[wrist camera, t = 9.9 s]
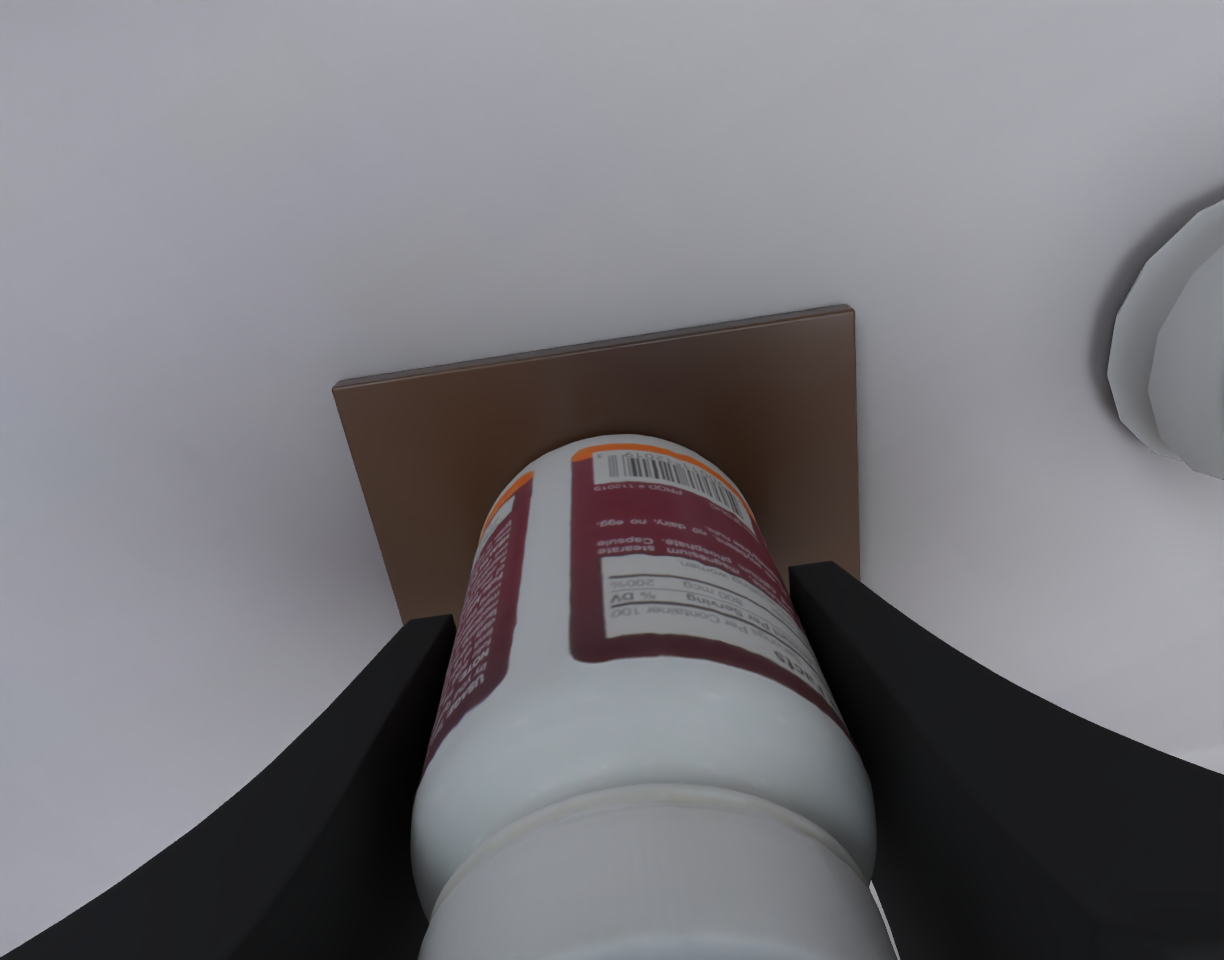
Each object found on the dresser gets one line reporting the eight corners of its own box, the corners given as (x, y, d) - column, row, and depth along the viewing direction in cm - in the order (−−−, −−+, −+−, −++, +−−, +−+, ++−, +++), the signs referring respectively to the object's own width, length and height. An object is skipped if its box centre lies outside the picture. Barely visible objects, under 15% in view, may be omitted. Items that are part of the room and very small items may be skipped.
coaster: (447, 745, 16) (444, 760, 15) (337, 380, 13) (329, 388, 12) (856, 690, 15) (863, 704, 15) (847, 303, 12) (855, 308, 12)
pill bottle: (569, 710, 15) (550, 1339, 7) (423, 509, 13) (194, 1064, 5) (805, 603, 14) (1067, 1185, 6) (684, 373, 12) (849, 799, 5)
